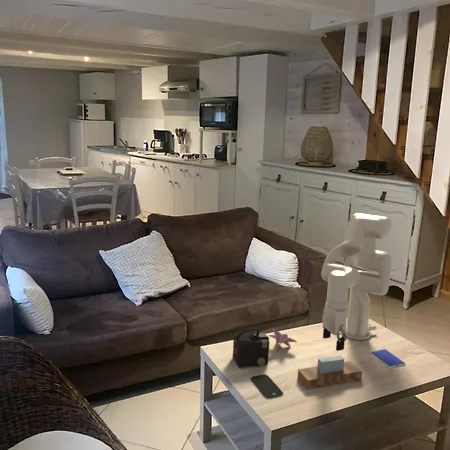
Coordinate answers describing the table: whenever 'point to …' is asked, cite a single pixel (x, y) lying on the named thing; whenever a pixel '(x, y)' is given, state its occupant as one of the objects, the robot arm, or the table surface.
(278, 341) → the lily
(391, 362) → the hard drive
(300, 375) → the brown block with holes
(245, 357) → the camera
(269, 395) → the smartphone
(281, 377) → the table surface
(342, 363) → the light blue arch block
